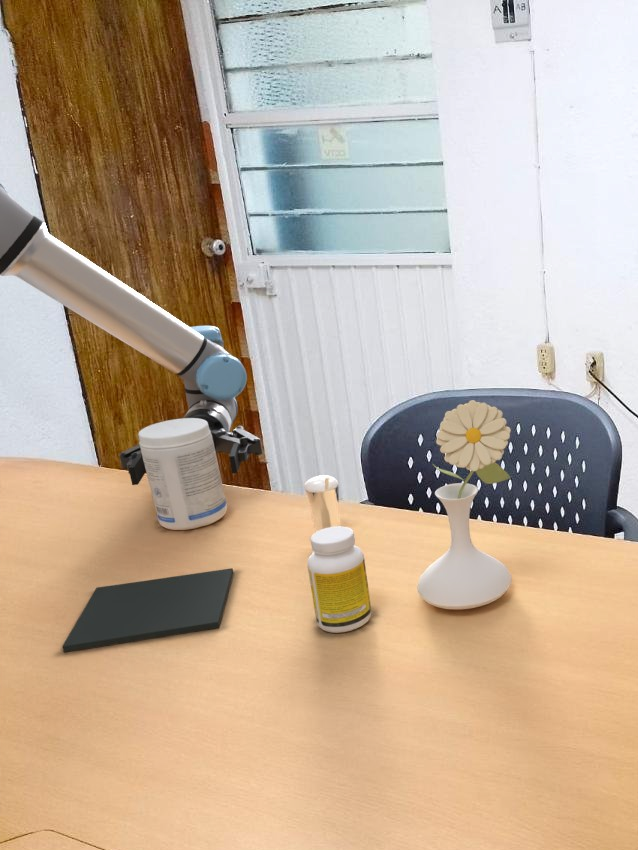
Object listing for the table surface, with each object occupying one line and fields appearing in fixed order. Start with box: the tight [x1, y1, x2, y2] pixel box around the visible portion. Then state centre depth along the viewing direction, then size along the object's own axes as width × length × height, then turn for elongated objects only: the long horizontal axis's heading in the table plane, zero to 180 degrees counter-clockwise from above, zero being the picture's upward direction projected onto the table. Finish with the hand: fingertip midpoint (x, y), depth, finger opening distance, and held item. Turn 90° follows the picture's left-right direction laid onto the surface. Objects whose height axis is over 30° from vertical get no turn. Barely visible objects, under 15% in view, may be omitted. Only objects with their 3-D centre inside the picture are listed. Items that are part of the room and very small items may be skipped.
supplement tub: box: [137, 417, 228, 531], centre depth 123 cm, size 10×10×15 cm
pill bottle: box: [307, 525, 372, 634], centre depth 95 cm, size 6×6×11 cm
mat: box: [61, 567, 234, 653], centre depth 100 cm, size 16×14×1 cm
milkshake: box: [303, 474, 341, 533], centre depth 116 cm, size 5×5×10 cm
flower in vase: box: [416, 399, 512, 610], centre depth 97 cm, size 13×11×25 cm
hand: (183, 470), depth 123 cm, fingers open, 13 cm apart
